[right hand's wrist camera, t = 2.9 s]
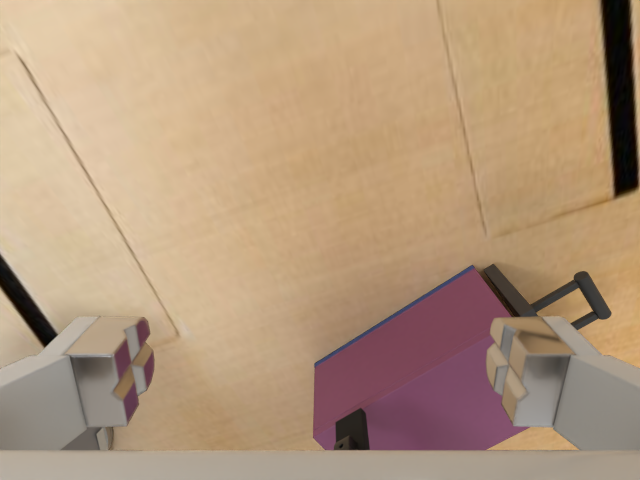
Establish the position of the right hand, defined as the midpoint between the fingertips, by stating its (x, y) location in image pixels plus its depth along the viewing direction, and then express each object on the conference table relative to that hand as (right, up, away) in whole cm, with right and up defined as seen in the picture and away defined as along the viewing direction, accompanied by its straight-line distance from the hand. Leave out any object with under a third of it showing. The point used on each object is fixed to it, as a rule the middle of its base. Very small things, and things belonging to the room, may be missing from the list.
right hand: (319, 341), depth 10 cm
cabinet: (+11, -10, +40) cm, 42 cm away
